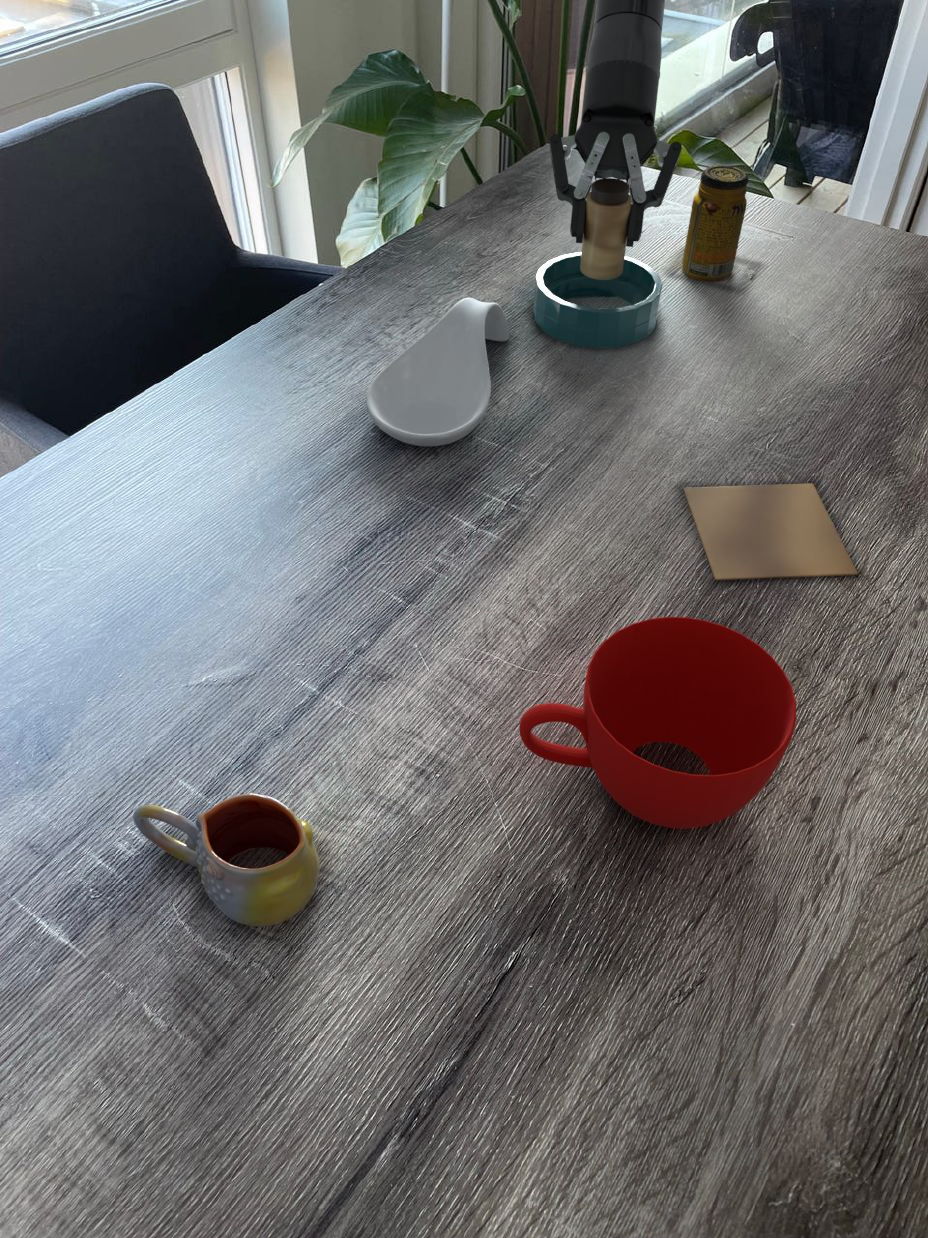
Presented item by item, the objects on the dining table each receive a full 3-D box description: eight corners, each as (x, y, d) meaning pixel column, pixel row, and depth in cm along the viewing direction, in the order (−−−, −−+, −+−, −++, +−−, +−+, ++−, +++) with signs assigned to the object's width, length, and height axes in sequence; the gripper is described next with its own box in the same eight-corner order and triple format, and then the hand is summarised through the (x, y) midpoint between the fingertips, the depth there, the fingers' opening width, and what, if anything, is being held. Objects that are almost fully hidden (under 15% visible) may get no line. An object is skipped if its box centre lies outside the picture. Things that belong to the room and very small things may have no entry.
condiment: (687, 256, 123) (705, 156, 115) (755, 271, 121) (778, 170, 112) (668, 281, 119) (686, 179, 110) (738, 297, 116) (761, 194, 108)
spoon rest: (464, 476, 92) (465, 410, 87) (348, 449, 95) (342, 384, 90) (538, 349, 108) (543, 287, 103) (436, 329, 110) (435, 267, 105)
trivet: (810, 491, 91) (813, 482, 90) (855, 582, 83) (858, 573, 82) (680, 496, 91) (682, 487, 90) (713, 588, 82) (715, 579, 81)
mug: (341, 859, 64) (332, 801, 59) (290, 953, 60) (276, 898, 55) (180, 801, 67) (160, 740, 62) (120, 886, 63) (93, 829, 58)
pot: (642, 291, 117) (648, 250, 113) (666, 352, 108) (674, 310, 104) (526, 293, 116) (529, 252, 113) (541, 356, 107) (544, 313, 103)
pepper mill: (618, 259, 109) (629, 175, 103) (626, 279, 106) (637, 194, 100) (577, 260, 109) (584, 176, 102) (583, 280, 106) (591, 195, 99)
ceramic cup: (504, 718, 72) (510, 622, 65) (733, 706, 73) (764, 611, 66) (524, 878, 63) (534, 788, 56) (785, 862, 64) (827, 772, 57)
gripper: (552, 52, 100) (534, 223, 100) (697, 60, 99) (678, 233, 99) (553, 91, 107) (536, 250, 108) (687, 98, 106) (670, 260, 106)
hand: (604, 241), depth 103 cm, fingers closed on pepper mill, 4 cm apart
